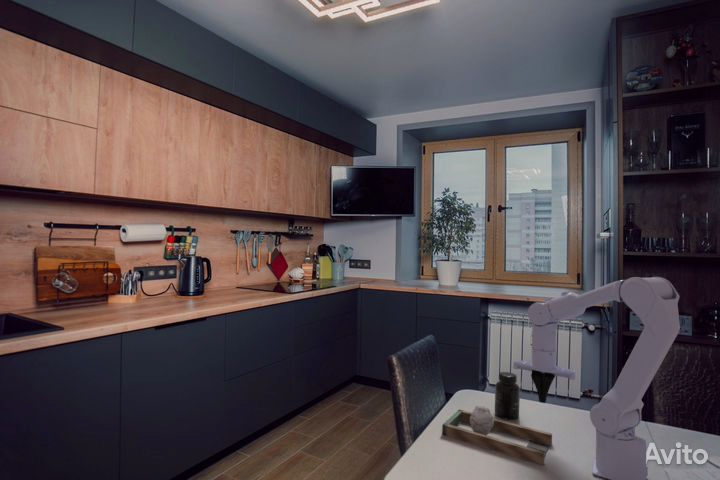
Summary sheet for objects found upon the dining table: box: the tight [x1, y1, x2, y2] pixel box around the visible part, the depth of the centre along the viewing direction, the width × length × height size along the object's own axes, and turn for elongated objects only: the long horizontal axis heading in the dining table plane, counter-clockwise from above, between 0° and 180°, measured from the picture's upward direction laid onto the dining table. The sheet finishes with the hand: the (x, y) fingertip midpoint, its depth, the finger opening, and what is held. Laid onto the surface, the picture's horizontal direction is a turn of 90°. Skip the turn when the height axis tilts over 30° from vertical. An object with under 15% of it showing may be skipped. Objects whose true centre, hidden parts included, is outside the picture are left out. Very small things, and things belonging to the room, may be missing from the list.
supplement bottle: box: [494, 371, 521, 421], centre depth 117 cm, size 7×7×12 cm
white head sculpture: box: [469, 405, 494, 436], centre depth 104 cm, size 6×7×7 cm
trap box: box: [441, 409, 553, 466], centre depth 102 cm, size 24×12×2 cm, turn 56°
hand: (542, 401), depth 103 cm, fingers closed
